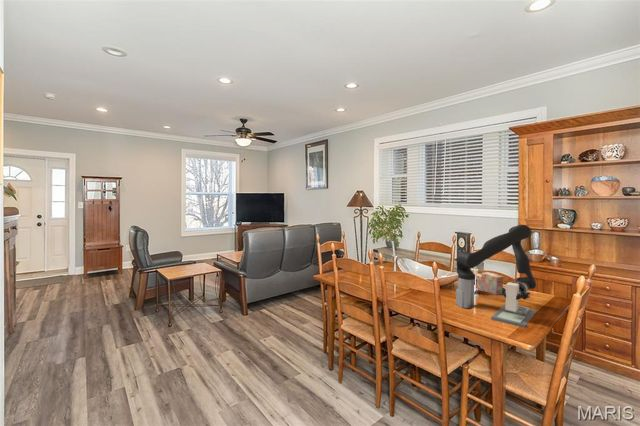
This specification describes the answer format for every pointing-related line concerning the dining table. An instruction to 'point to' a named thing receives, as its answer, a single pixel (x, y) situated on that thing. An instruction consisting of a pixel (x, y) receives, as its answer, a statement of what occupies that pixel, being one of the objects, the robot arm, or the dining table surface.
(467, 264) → the robot arm
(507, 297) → the cream block
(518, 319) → the grey tray
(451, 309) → the dining table surface
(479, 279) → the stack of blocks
